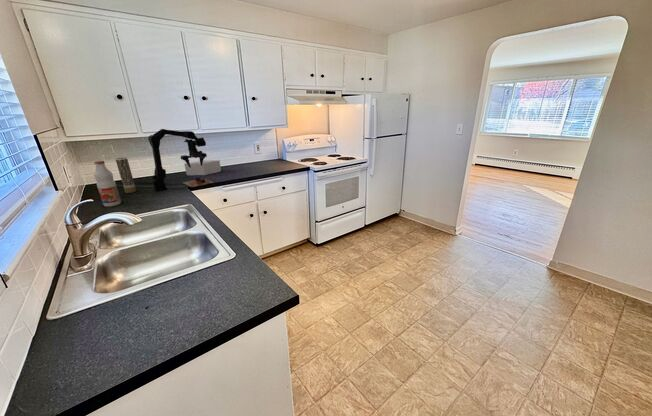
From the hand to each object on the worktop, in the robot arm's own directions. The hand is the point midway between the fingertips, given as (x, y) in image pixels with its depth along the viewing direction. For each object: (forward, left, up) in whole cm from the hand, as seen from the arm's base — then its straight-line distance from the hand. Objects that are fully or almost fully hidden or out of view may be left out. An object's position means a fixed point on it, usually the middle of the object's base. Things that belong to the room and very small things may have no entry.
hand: (195, 166), depth 218 cm
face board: (-2, -4, -12) cm, 13 cm away
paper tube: (-46, +9, -13) cm, 49 cm away
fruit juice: (-61, -13, -13) cm, 64 cm away
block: (+16, +25, -13) cm, 32 cm away
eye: (0, -8, -12) cm, 14 cm away
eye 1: (0, 0, -12) cm, 12 cm away
